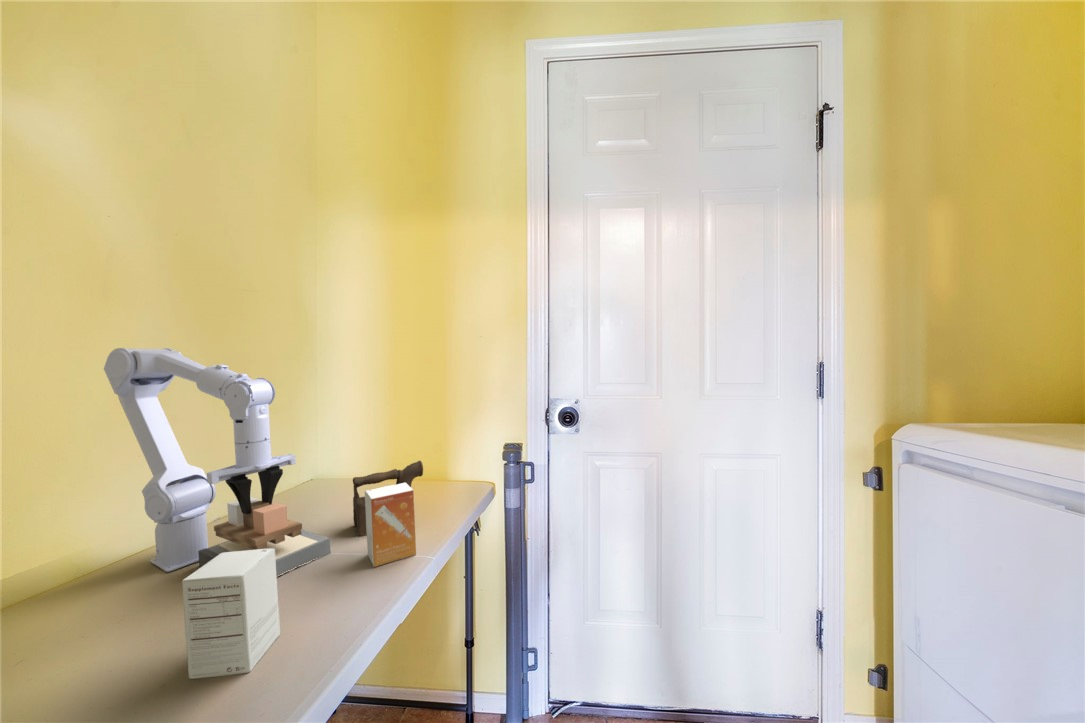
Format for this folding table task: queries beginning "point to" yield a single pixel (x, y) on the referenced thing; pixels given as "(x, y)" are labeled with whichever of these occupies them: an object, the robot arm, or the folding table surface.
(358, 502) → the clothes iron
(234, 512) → the block
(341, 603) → the folding table surface
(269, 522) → the block
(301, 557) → the dock
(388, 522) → the small box
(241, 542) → the pallet
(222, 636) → the supplement box
